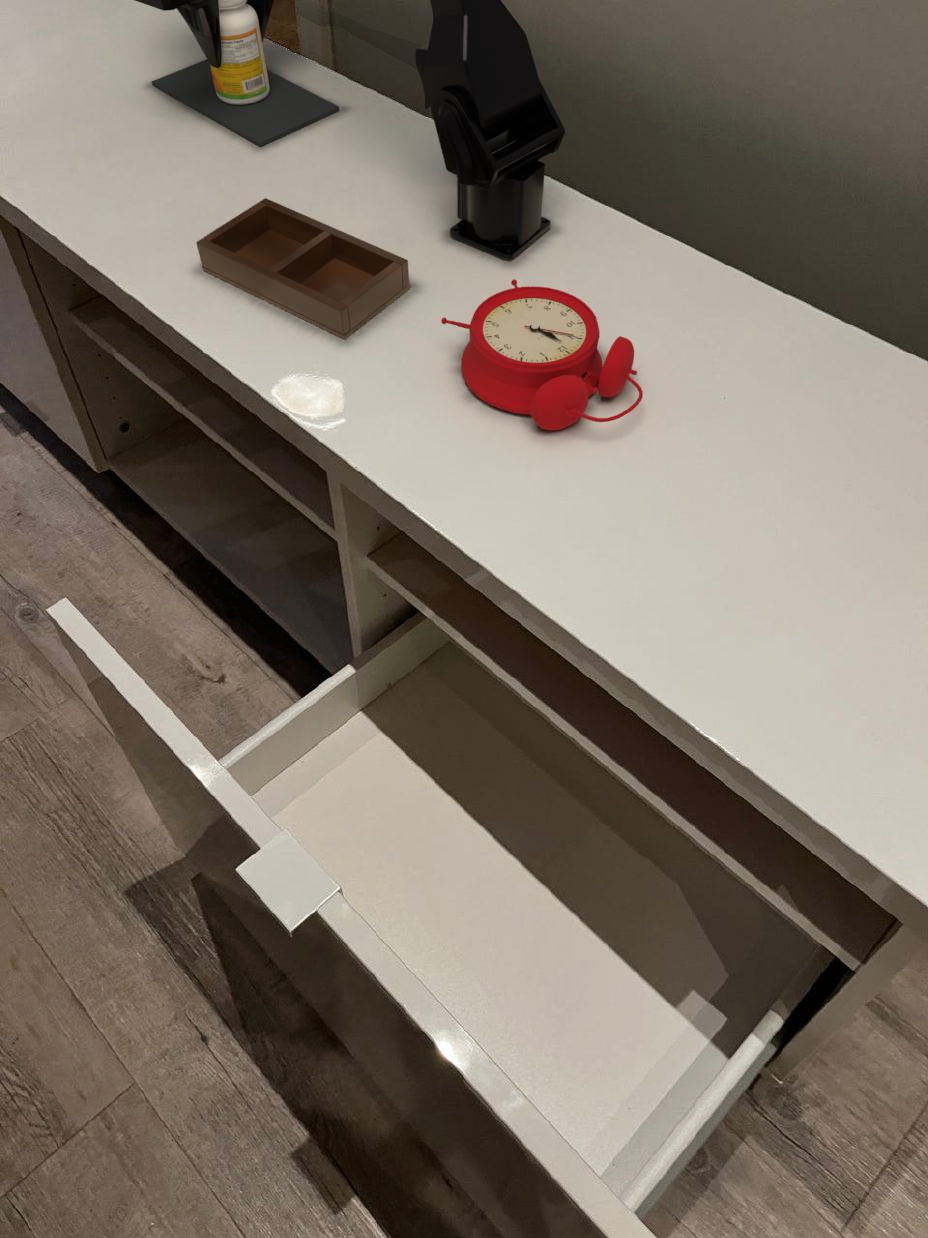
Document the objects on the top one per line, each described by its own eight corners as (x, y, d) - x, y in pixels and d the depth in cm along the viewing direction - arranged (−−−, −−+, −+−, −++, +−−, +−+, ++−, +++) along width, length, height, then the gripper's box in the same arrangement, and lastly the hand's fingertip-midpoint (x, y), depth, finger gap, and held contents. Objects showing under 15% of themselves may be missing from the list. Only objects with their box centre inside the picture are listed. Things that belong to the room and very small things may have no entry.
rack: (270, 226, 80) (265, 197, 78) (409, 288, 75) (408, 259, 73) (203, 270, 76) (195, 241, 74) (344, 339, 71) (340, 310, 69)
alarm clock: (524, 261, 70) (680, 310, 61) (532, 337, 75) (679, 393, 66) (420, 318, 66) (571, 380, 57) (435, 394, 71) (578, 463, 62)
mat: (339, 110, 92) (339, 106, 92) (260, 147, 88) (259, 142, 88) (230, 53, 100) (229, 49, 99) (152, 85, 95) (151, 81, 95)
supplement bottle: (225, 79, 95) (203, -30, 87) (276, 82, 95) (258, -27, 87) (210, 104, 92) (185, -6, 84) (262, 107, 92) (242, -4, 84)
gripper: (211, -188, 85) (244, 3, 98) (48, -133, 76) (108, 69, 89) (300, -166, 81) (323, 29, 94) (140, -106, 72) (189, 101, 85)
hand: (237, 55), depth 90 cm, fingers closed on supplement bottle, 5 cm apart
